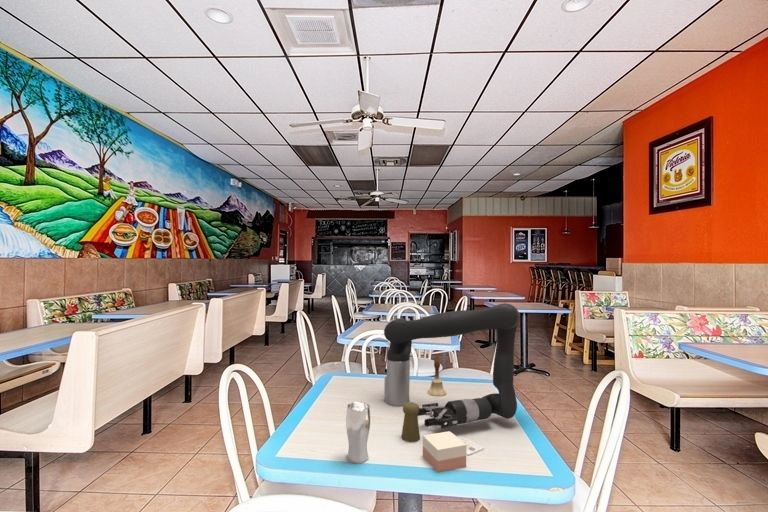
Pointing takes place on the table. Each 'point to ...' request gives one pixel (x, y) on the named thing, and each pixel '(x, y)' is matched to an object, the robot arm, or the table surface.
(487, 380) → the table surface
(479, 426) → the table surface
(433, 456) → the brick base
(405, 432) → the cork
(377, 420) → the table surface
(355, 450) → the beer glass
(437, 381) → the hand bell
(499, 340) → the robot arm
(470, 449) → the page
